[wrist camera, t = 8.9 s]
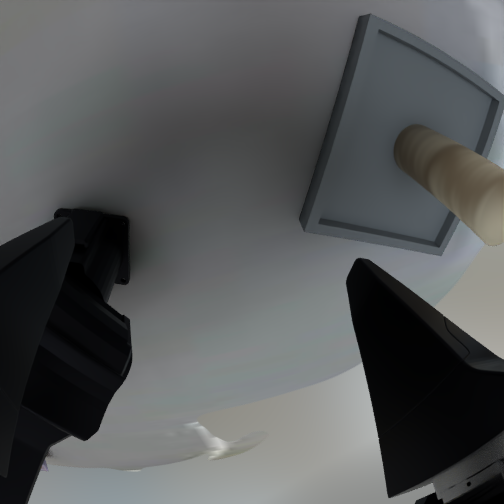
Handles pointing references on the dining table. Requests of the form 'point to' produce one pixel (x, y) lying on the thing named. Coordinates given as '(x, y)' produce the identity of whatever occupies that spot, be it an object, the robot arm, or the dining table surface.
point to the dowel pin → (455, 179)
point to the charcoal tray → (394, 139)
